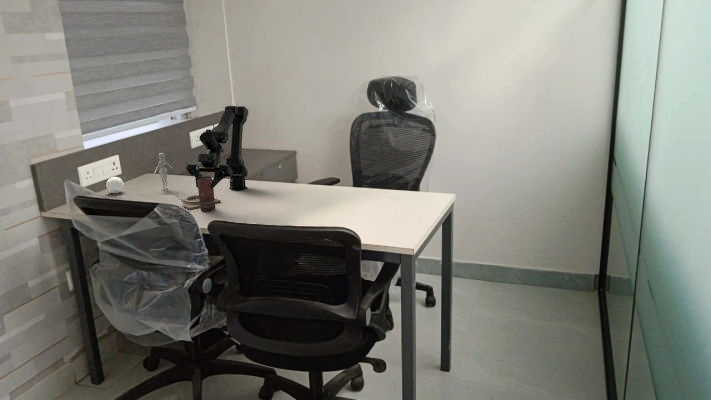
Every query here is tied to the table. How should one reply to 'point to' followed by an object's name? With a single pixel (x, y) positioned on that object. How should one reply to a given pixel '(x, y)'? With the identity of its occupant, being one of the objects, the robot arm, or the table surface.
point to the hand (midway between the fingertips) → (204, 187)
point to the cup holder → (193, 202)
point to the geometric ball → (115, 185)
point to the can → (206, 194)
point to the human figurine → (162, 170)
